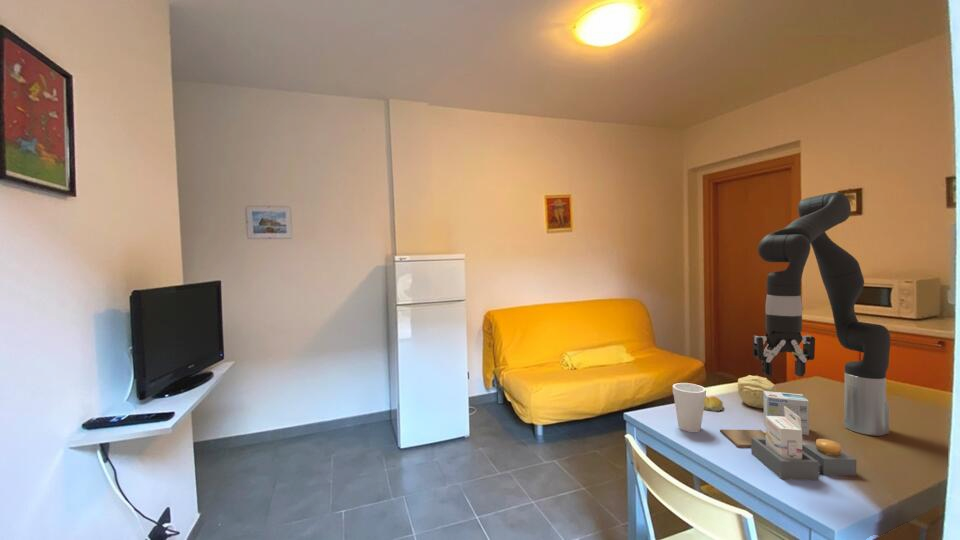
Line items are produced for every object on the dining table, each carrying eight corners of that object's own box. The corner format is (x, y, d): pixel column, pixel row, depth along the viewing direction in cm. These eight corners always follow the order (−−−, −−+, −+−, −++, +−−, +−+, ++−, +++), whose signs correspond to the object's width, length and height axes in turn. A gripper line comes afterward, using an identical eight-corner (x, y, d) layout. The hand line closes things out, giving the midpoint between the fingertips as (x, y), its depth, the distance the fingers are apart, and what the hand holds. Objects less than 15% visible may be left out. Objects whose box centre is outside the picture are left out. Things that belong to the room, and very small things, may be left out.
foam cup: (667, 422, 134) (667, 383, 133) (694, 420, 134) (693, 382, 134) (683, 435, 124) (683, 393, 124) (712, 433, 125) (712, 391, 124)
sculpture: (734, 405, 147) (734, 376, 146) (743, 396, 155) (744, 369, 154) (772, 414, 138) (772, 383, 138) (780, 404, 146) (780, 375, 146)
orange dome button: (830, 459, 106) (830, 438, 106) (845, 469, 102) (845, 447, 101) (811, 459, 107) (811, 438, 107) (825, 469, 102) (825, 447, 102)
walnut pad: (760, 432, 125) (760, 429, 125) (782, 448, 115) (782, 445, 115) (720, 432, 126) (720, 429, 126) (737, 447, 116) (737, 444, 116)
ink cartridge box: (764, 457, 110) (764, 404, 109) (784, 458, 109) (784, 405, 108) (780, 474, 102) (781, 416, 101) (803, 475, 101) (803, 417, 100)
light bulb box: (803, 427, 128) (803, 393, 127) (809, 436, 121) (810, 400, 121) (762, 422, 132) (762, 389, 132) (767, 430, 126) (767, 396, 126)
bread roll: (695, 401, 152) (695, 391, 152) (723, 406, 147) (723, 395, 147) (693, 409, 145) (693, 398, 145) (722, 413, 140) (722, 402, 140)
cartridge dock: (825, 455, 110) (825, 438, 110) (864, 480, 98) (865, 462, 97) (751, 453, 112) (751, 437, 112) (781, 479, 99) (781, 461, 99)
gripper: (802, 310, 107) (802, 371, 107) (745, 310, 108) (745, 371, 109) (824, 314, 99) (823, 380, 100) (762, 315, 101) (762, 380, 101)
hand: (783, 375), depth 104 cm, fingers open, 7 cm apart
